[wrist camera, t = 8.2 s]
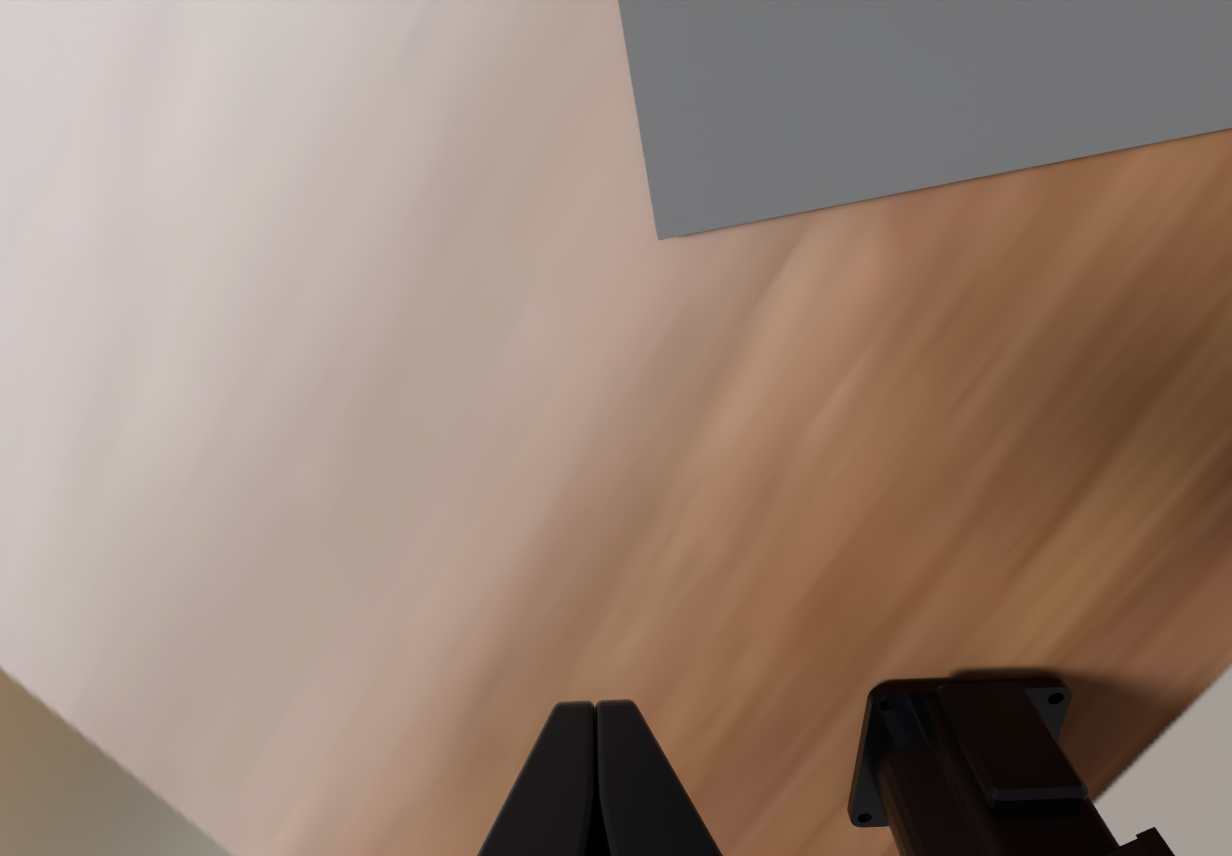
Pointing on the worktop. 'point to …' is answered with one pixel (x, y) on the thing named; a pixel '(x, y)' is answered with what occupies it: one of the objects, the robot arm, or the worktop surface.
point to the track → (904, 94)
